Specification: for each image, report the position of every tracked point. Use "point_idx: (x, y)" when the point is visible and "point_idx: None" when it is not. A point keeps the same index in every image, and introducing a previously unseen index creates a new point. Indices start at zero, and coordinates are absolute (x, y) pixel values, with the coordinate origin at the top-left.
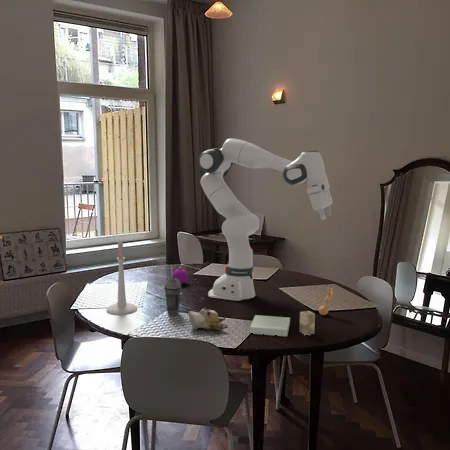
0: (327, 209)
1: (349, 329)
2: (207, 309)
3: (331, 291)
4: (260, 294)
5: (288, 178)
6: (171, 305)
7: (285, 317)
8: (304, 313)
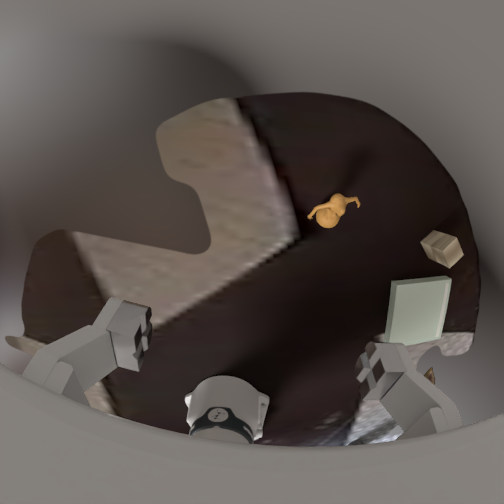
0: (81, 376)
1: (399, 160)
2: None
3: (348, 201)
4: (204, 367)
5: None
6: None
7: (396, 294)
8: (456, 258)
